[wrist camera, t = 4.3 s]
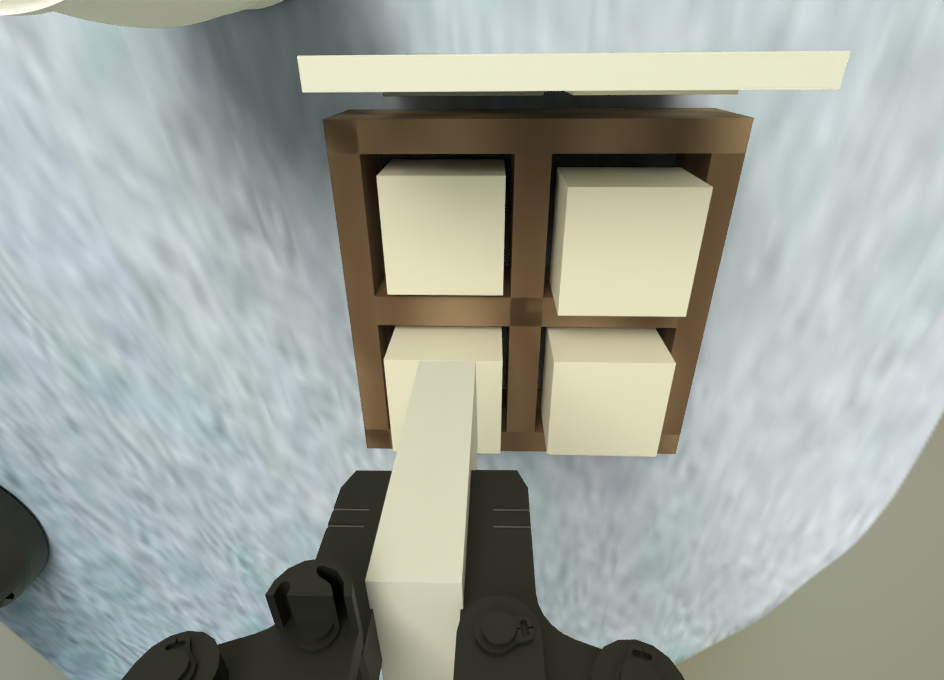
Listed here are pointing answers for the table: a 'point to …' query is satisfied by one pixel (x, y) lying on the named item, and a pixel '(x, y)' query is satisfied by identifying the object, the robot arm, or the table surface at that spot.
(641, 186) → the button near right
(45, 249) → the table surface
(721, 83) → the card
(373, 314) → the board
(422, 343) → the button far left
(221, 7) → the jar
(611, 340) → the button far right
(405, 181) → the button near left
